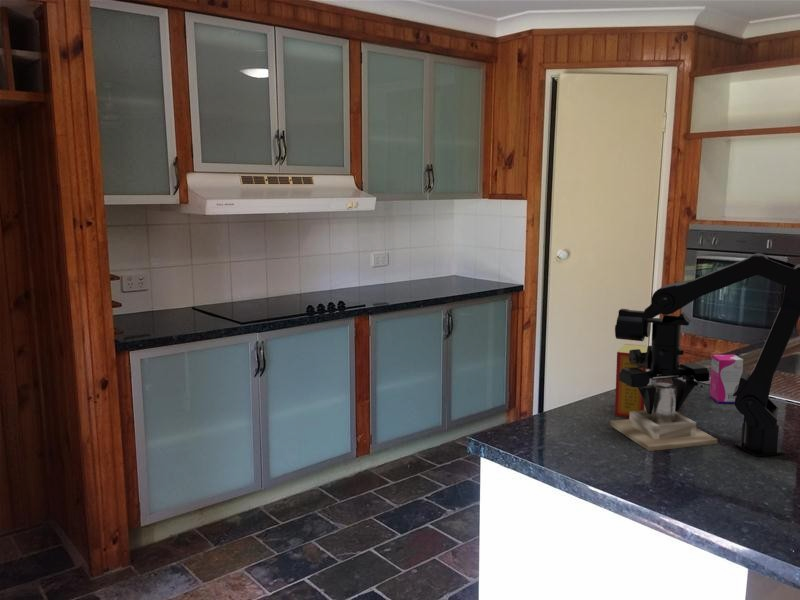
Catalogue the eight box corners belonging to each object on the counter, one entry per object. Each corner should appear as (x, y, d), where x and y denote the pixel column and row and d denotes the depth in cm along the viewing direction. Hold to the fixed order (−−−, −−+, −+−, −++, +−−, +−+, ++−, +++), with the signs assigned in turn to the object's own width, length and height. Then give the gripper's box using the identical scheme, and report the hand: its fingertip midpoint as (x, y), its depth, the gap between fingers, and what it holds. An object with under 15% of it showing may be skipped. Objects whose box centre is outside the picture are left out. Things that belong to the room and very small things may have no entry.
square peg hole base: (717, 443, 140) (718, 425, 140) (649, 451, 137) (649, 432, 137) (672, 419, 156) (672, 402, 155) (609, 425, 153) (610, 408, 152)
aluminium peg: (678, 432, 144) (681, 388, 143) (657, 434, 144) (661, 389, 142) (665, 424, 149) (668, 382, 148) (645, 426, 148) (647, 383, 147)
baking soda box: (622, 404, 167) (624, 342, 165) (649, 407, 164) (652, 345, 162) (614, 415, 159) (617, 350, 157) (643, 419, 156) (646, 353, 153)
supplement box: (732, 396, 171) (735, 353, 169) (741, 404, 165) (744, 359, 164) (708, 396, 172) (711, 353, 170) (717, 403, 166) (720, 359, 164)
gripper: (681, 333, 153) (678, 398, 155) (607, 338, 149) (605, 404, 152) (713, 343, 142) (709, 413, 145) (634, 349, 138) (631, 420, 141)
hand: (662, 412), depth 146 cm, fingers open, 6 cm apart
